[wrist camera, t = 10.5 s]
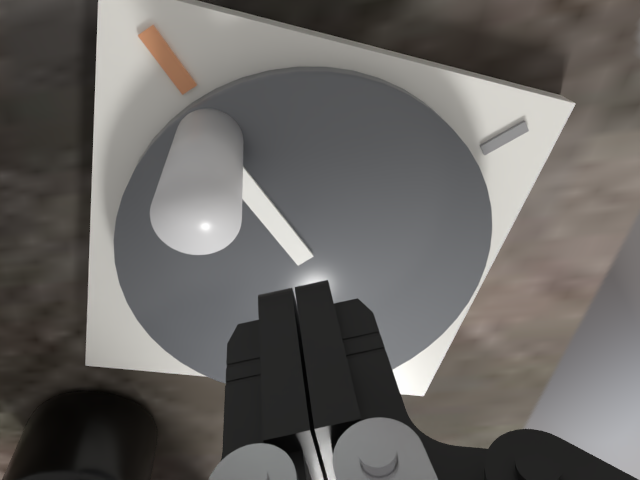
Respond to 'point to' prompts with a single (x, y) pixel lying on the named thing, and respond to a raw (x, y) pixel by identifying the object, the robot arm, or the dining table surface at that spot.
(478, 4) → the dining table surface
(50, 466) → the ink bottle
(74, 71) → the dining table surface
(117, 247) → the dial
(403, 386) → the dial base
